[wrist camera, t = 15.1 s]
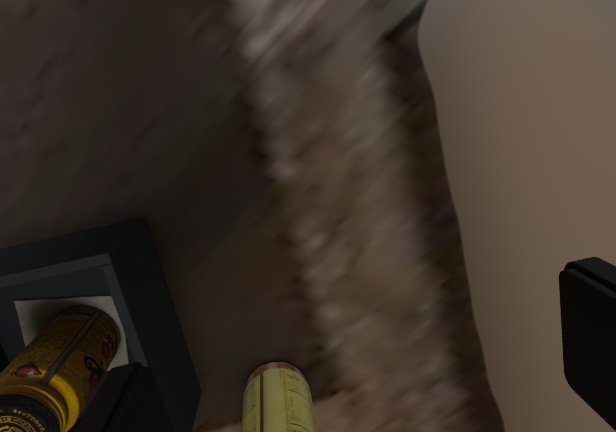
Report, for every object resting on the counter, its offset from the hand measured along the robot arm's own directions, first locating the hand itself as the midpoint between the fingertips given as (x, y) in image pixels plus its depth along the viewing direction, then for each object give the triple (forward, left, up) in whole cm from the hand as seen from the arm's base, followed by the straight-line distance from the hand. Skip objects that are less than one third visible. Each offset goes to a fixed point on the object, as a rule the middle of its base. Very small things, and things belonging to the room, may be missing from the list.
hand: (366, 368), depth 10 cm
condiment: (+10, -22, -28) cm, 37 cm away
